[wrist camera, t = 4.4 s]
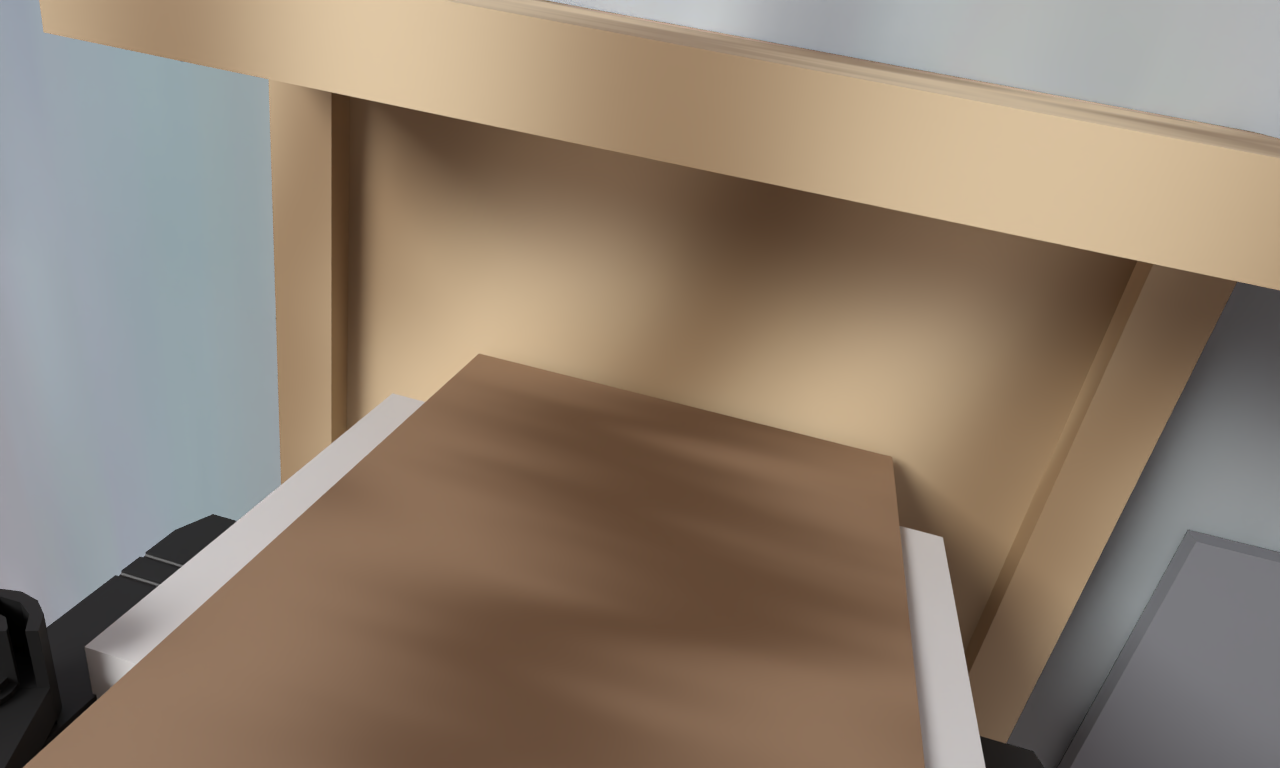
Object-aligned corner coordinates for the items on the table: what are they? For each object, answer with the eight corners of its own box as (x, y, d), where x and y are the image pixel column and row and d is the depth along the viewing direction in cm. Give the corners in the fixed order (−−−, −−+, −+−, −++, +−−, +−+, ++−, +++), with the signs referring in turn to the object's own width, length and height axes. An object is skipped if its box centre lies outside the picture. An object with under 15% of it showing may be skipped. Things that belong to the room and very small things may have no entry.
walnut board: (892, 456, 15) (1011, 1574, 4) (847, 586, 16) (850, 1691, 5) (478, 353, 16) (-264, 1028, 5) (468, 482, 17) (-147, 1235, 7)
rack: (1253, 131, 13) (1550, 209, 7) (932, 813, 20) (966, 1109, 14) (320, -42, 15) (27, -78, 10) (323, 629, 22) (154, 827, 16)
